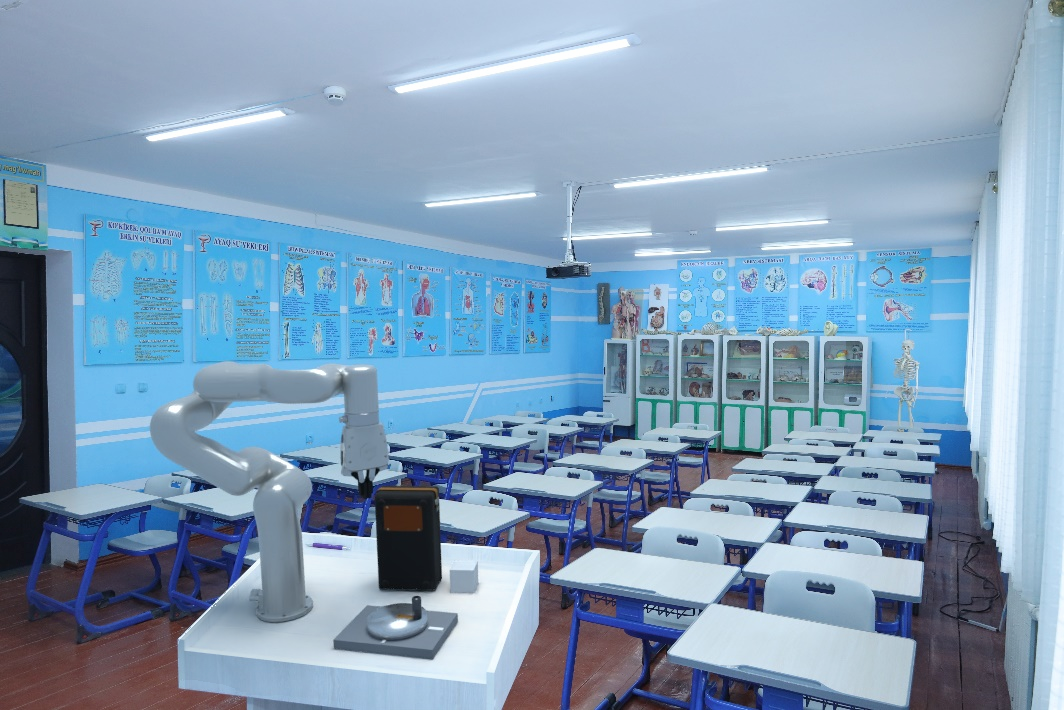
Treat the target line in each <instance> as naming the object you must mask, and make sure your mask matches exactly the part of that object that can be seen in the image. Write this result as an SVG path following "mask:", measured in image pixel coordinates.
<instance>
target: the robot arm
mask: <svg viewBox="0 0 1064 710" xmlns="http://www.w3.org/2000/svg"><path fill="white" fill-rule="evenodd" d="M192 383H193V384H192V387H193V391H192V392H191V393H190V394H188V395H186V396H183V397H180V398H177V399H173V400H171V401H168V402H166V403H164V404H162V405H161V406H159V407H158V408H157V409H156V410H155V411H154V413H153V414H152V415H151V419H150V421H149V433H150V438H151V440H152V443H153V445H154V446H155V448H156V449H157V451H159V453H160V454H161V455H163V457H165V458H166V459H168V460H169V461H170V462H172V463H174V464H176V465H177V466H179V467H181V468H184V469H185V470H188V471H190V472H191V473H193V474H195V475H196V476H198V477H199V478H201V479H203V480H204V481H206V482H208V483H209V484H211V485H212V486H215V487H216V488H218V489H220V490H222V491H223V492H225V493H227V494H228V495H231V496H236V497H241V496H245V495H247V494H248V493H250V492H252V491H253V490H255V489H257V491H256V493H255V495H254V498H253V502H252V509H253V510H252V511H253V515H254V519H255V523H256V528H257V535H258V538H257V539H258V548H259V549H258V550H259V560H260V563H259V565H260V575H261V588H252V589H251V591H250V595H249V602H257V603H258V606H257V607H256V611H255V612H256V616H257V618H258V619H260V620H261V621H264V622H270V623H280V622H281V623H282V622H288V621H292V620H296V619H298V618H301V617H303V616H305V615H306V614H308V613H309V612H310V611H311V610H312V609H313V607H314V600H313V598H312V597H311V596H309V595H307V594H306V580H305V561H304V547H303V545H304V544H303V531H302V527H301V523H300V518H299V514H298V510H299V509H300V508H301V507H302V506H303V505H304V504H305V503H306V502H307V500H309V498H310V497H311V494H312V491H313V485H312V484H313V483H312V481H311V478H310V477H309V475H308V474H307V473H306V472H305V471H303V469H301V468H299V467H297V466H296V465H294V464H293V463H290V462H289V461H288V460H285V459H284V458H282V457H280V456H279V455H277V454H275V453H273V452H271V451H270V450H268V449H265V448H263V447H259V446H247V447H244V448H241V449H239V450H238V451H236V450H233V449H231V448H229V447H227V446H225V445H223V444H222V443H220V442H218V441H217V440H215V439H213V438H211V437H208V436H207V437H206V436H204V435H200V434H198V433H197V431H200V430H203V429H204V428H207V426H209V425H210V424H213V422H214V421H215V420H216V419H217V418H219V417H220V415H222V413H224V412H225V410H227V408H228V407H230V406H231V404H233V403H235V402H236V403H237V402H241V403H242V402H267V403H276V404H287V405H289V404H290V405H291V404H293V405H294V404H295V405H296V404H301V405H302V404H319V403H324V402H326V401H329V400H330V399H332V398H334V397H337V396H339V395H343V401H344V402H343V403H344V405H343V406H344V412H343V415H341V416H339V417H338V421H339V422H338V423H341V424H344V425H342V430H341V437H340V448H339V449H340V451H339V452H340V453H339V454H340V456H339V458H340V465H341V470H340V474H341V475H342V476H344V477H353V478H354V479H355V480H356V481H357V489H358V491H357V493H358V495H359V497H360V498H361V499H363V500H367V499H369V500H371V499H372V498H373V497H372V495H373V494H374V484H373V481H375V479H376V476H378V474H379V472H382V471H385V470H387V469H388V468H389V467H388V464H389V461H390V460H389V459H390V458H389V448H388V442H387V437H386V436H387V435H386V430H385V427H384V423H383V422H380V412H379V411H380V410H379V407H380V406H379V389H378V387H379V386H378V370H377V369H376V366H374V365H373V364H365V363H364V364H353V365H347V364H340V363H325V364H322V365H319V366H318V367H314V368H311V369H310V368H309V369H307V368H306V369H279V368H274V367H272V366H271V365H270V364H266V363H250V364H247V363H246V364H241V363H239V362H238V363H237V362H236V361H231V360H230V361H229V360H225V361H221V362H217V363H212V364H208V365H206V366H204V367H202V368H201V369H199V370H198V371H197V372H196V374H195V376H194V378H193V382H192ZM364 471H365V474H364ZM364 475H365V476H364Z"/></svg>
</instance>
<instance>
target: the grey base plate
mask: <svg viewBox="0 0 1064 710" xmlns="http://www.w3.org/2000/svg"><path fill="white" fill-rule="evenodd" d="M380 607H383V605H382V606H379V605H369V604H367V605H365V607H363V608H362V610H360V612H359V613H357V615H355V617H354V618H353V619H352V620H351V621H350V622H349V623H348V624H347V625H346V626H345V627H344V628H343V629H342V630H341V632H339V633H338V634H337V635H336V636H335V637H334V638H333V640H332V641H333V644H332V645H333V650H342V651H351V652H352V651H353V652H359V651H362V652H361V653H369V654H380V655H381V654H382V655H388V656H399V657H409V658H419V659H427V660H434V658H435V657H436V655H437V654H438V652H439V651H440V649H441V647H443V644H444V643H445V642H446V640H447V639H448V638H449V636H450V634H451V633H452V631H453V630H454V628H455V627H456V625H457V624H458V623H459V615H458V612H448V611H435V610H426V611H427V616H428V624H427V626H426V628H425V629H424V630H423V631H421V632H420V633H418V634H416V635H414V636H411V637H408V638H404V639H398V640H383V639H378V638H375V637H373V636H371V635H370V634H369V633H368V631H367V617H368V615H369V614H370V613H372V612H373V611H374V610H376V609H378V608H380Z"/></svg>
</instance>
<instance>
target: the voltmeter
mask: <svg viewBox="0 0 1064 710" xmlns="http://www.w3.org/2000/svg"><path fill="white" fill-rule="evenodd" d="M374 508H375V509H374V510H375V511H374V513H375V515H374V516H375V537H376V552H377V553H376V556H377V575H378V576H377V579H378V588H379V589H380V590H404V591H405V590H406V591H407V590H408V591H409V590H410V591H411V590H413V591H434V590H436V588H437V586H438V585H439V581H440V582H441V581H442V580H443V569H442V568H443V566H442V563H443V562H442V543H441V542H442V540H441V539H442V538H441V517H440V516H441V513H440V510H441V509H440V488H439V487H438V486H436V485H434V486H433V485H432V486H430V485H427V486H425V485H423V486H422V485H420V486H419V485H382V486H380V487H378V489H377V490H376V492H375V494H374Z"/></svg>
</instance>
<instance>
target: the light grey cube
mask: <svg viewBox="0 0 1064 710" xmlns="http://www.w3.org/2000/svg"><path fill="white" fill-rule="evenodd" d="M478 563H479V561H478V560H469V559H468V560H466V559H465V560H460V559H459V560H457V559H455V560H453V562H452V564H451V566H450V569H449V589H450V592H449V593H450V594H475V593H476V591H477V588H478V585H479V564H478Z"/></svg>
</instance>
